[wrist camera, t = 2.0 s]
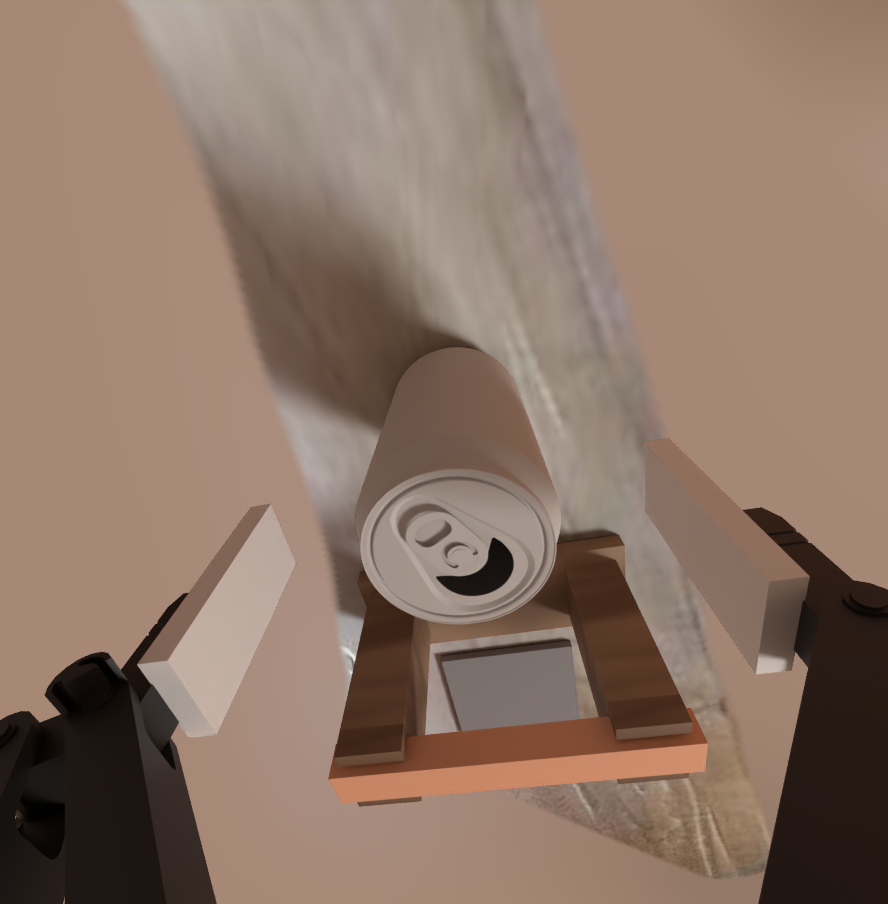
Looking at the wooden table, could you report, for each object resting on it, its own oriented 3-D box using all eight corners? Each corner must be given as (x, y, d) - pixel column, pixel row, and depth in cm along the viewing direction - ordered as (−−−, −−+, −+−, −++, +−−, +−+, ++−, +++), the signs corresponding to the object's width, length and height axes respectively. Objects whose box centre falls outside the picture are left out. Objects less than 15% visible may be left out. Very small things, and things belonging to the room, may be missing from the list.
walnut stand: (360, 571, 29) (315, 745, 19) (618, 534, 27) (707, 705, 18) (384, 637, 32) (355, 818, 22) (621, 607, 30) (699, 789, 20)
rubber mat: (441, 655, 32) (441, 662, 32) (569, 640, 31) (571, 646, 31) (463, 732, 36) (464, 738, 36) (578, 720, 35) (579, 726, 35)
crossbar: (336, 744, 21) (328, 779, 20) (690, 707, 20) (707, 743, 18) (348, 768, 22) (341, 803, 21) (688, 735, 21) (704, 771, 19)
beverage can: (451, 479, 26) (450, 664, 15) (368, 399, 24) (299, 549, 13) (543, 408, 24) (616, 565, 13) (461, 314, 22) (469, 409, 11)
